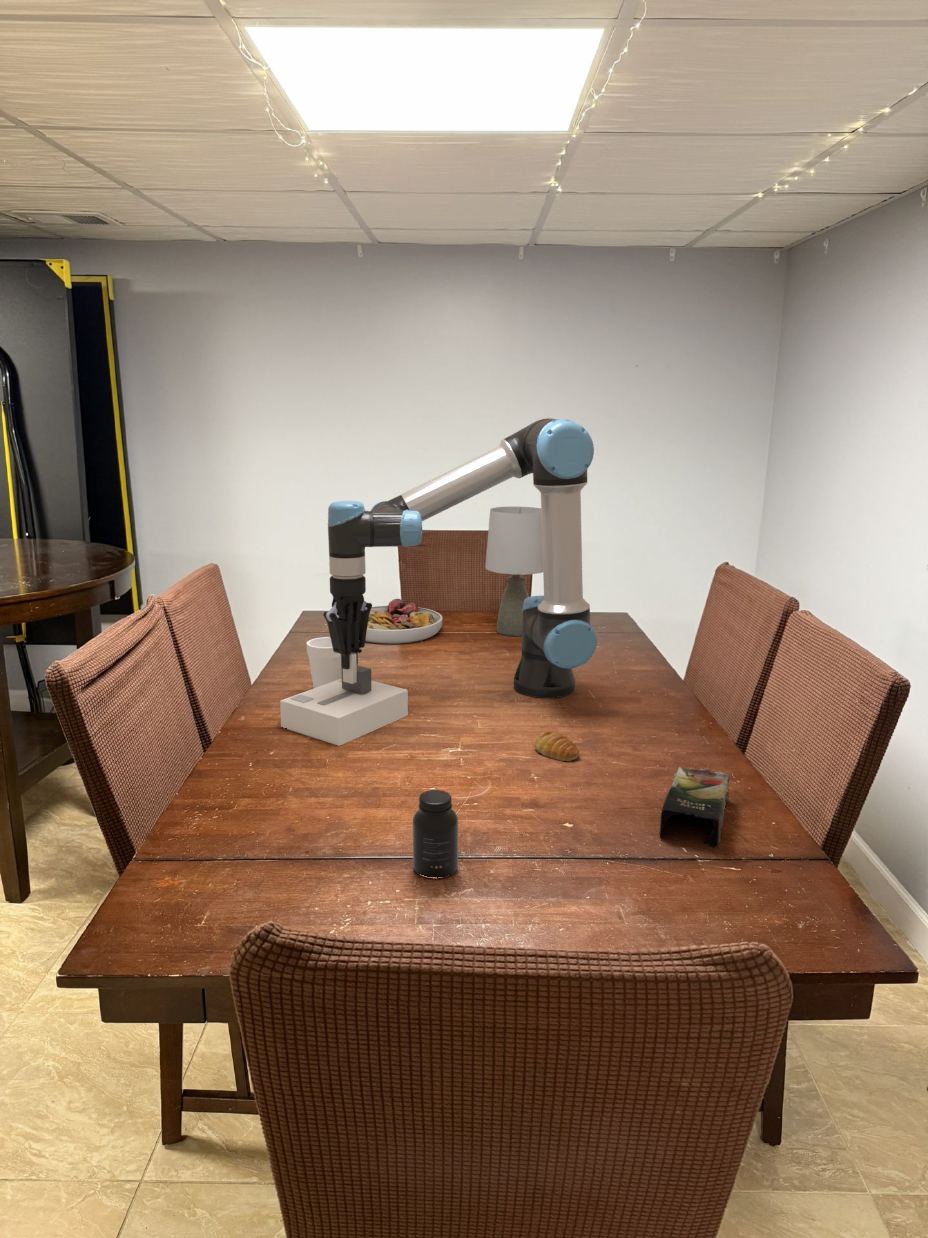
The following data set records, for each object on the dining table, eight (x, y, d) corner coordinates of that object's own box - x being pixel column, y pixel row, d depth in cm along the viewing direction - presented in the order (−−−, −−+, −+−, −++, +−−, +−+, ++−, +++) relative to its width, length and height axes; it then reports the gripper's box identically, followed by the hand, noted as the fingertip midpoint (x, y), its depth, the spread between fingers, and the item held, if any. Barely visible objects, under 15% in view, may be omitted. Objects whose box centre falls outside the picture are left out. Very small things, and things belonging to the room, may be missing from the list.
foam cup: (340, 703, 203) (338, 649, 199) (302, 700, 204) (300, 646, 201) (353, 690, 212) (352, 638, 208) (316, 687, 213) (315, 635, 210)
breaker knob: (371, 690, 193) (371, 668, 191) (362, 694, 190) (361, 672, 189) (351, 685, 196) (350, 663, 195) (341, 688, 194) (341, 666, 192)
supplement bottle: (412, 858, 136) (411, 786, 133) (456, 856, 136) (456, 785, 133) (413, 881, 129) (413, 807, 126) (459, 880, 130) (460, 806, 127)
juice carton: (673, 790, 161) (676, 759, 159) (729, 800, 158) (732, 768, 156) (656, 841, 143) (659, 807, 141) (718, 854, 139) (722, 819, 138)
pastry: (587, 758, 175) (588, 740, 174) (563, 766, 171) (564, 748, 170) (553, 743, 182) (553, 726, 181) (529, 751, 178) (530, 734, 177)
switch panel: (407, 715, 196) (407, 689, 194) (339, 746, 178) (338, 717, 177) (351, 699, 205) (350, 674, 204) (281, 727, 188) (280, 699, 186)
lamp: (487, 622, 276) (490, 505, 267) (546, 625, 274) (551, 506, 264) (480, 638, 258) (482, 513, 249) (543, 641, 256) (548, 515, 246)
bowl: (440, 647, 249) (441, 621, 247) (335, 646, 249) (334, 619, 247) (443, 621, 278) (443, 597, 276) (349, 620, 278) (348, 595, 276)
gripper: (355, 568, 192) (357, 671, 198) (312, 578, 182) (316, 686, 188) (381, 572, 188) (382, 677, 194) (339, 582, 178) (342, 693, 183)
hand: (350, 681), depth 191 cm, fingers closed
